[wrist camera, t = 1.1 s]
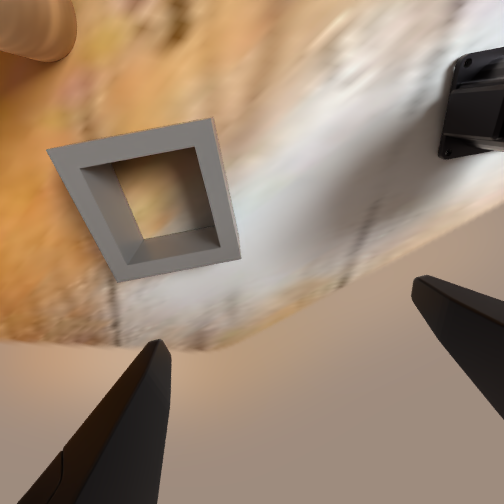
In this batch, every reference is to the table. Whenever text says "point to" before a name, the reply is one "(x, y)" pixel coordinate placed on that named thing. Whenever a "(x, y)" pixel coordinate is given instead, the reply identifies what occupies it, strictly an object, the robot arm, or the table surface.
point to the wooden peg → (37, 28)
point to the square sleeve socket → (118, 210)
